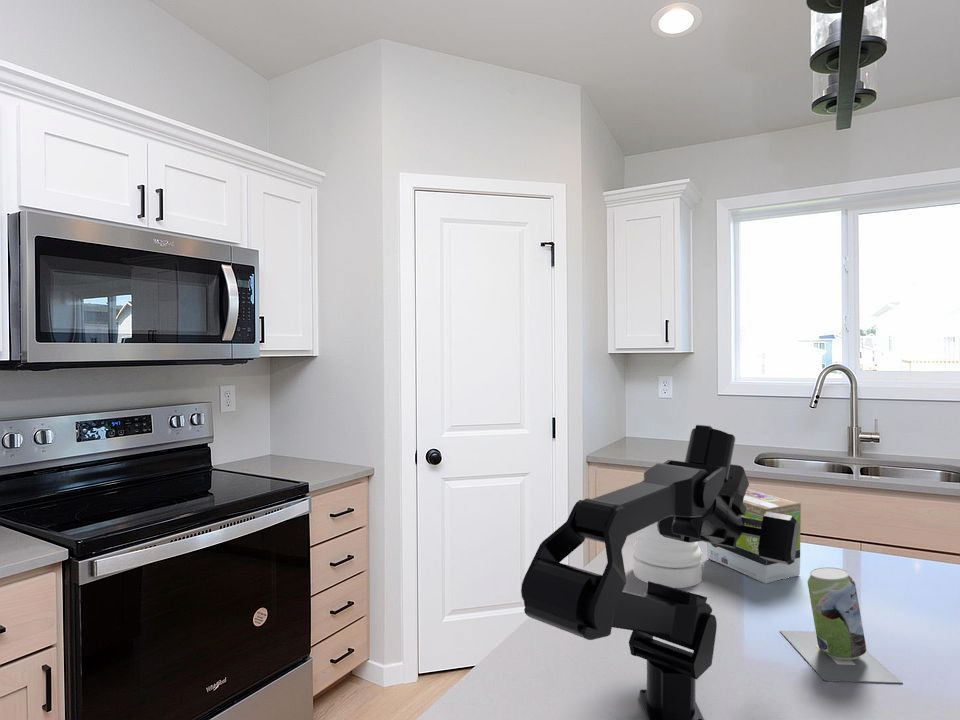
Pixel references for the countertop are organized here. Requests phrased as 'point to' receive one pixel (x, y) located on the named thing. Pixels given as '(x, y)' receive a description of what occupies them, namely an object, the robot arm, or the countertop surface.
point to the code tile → (839, 662)
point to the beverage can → (836, 613)
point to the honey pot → (666, 559)
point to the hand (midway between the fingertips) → (742, 542)
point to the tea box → (747, 546)
